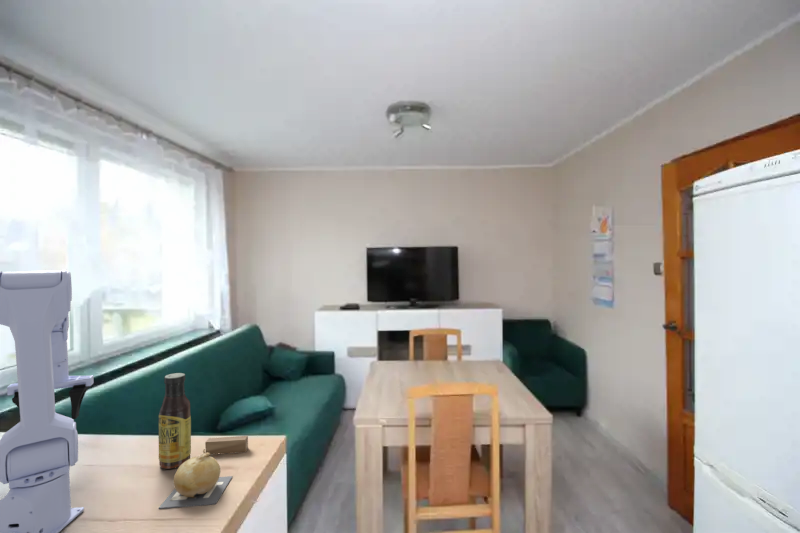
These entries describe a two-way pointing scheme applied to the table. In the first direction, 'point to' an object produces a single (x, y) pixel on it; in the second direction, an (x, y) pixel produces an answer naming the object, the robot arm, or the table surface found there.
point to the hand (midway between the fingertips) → (54, 420)
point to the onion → (197, 475)
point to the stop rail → (227, 444)
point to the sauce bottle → (174, 423)
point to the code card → (197, 496)
